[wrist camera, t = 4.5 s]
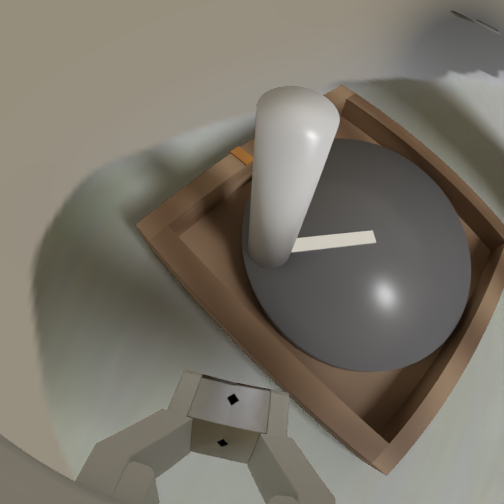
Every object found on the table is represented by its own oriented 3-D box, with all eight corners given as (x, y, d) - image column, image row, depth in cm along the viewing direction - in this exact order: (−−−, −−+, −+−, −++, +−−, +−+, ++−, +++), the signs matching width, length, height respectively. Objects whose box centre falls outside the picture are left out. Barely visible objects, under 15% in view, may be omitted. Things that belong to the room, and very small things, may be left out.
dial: (418, 150, 23) (478, 51, 12) (482, 336, 17) (605, 288, 6) (229, 154, 21) (225, 10, 11) (261, 396, 15) (300, 439, 5)
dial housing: (333, 112, 26) (342, 83, 23) (494, 258, 21) (520, 242, 17) (150, 248, 20) (134, 223, 17) (363, 461, 15) (388, 476, 12)
